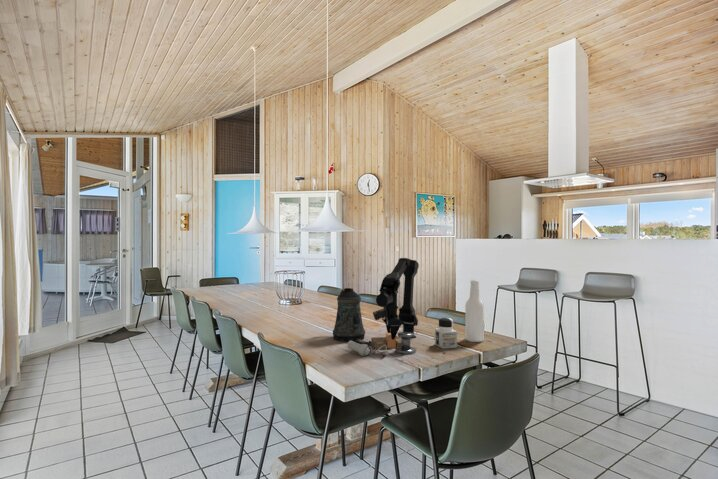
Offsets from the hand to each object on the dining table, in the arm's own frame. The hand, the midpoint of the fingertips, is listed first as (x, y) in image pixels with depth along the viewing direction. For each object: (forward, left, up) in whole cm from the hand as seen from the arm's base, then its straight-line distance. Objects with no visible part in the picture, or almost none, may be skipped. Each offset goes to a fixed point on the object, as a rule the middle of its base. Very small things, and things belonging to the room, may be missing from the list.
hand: (390, 336), depth 186 cm
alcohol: (-7, +44, -5) cm, 45 cm away
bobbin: (+9, +5, -4) cm, 11 cm away
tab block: (0, 0, -5) cm, 5 cm away
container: (+2, +26, -5) cm, 27 cm away
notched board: (-3, 0, -4) cm, 5 cm away
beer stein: (-19, -19, -5) cm, 27 cm away
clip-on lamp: (+11, -12, -5) cm, 17 cm away
